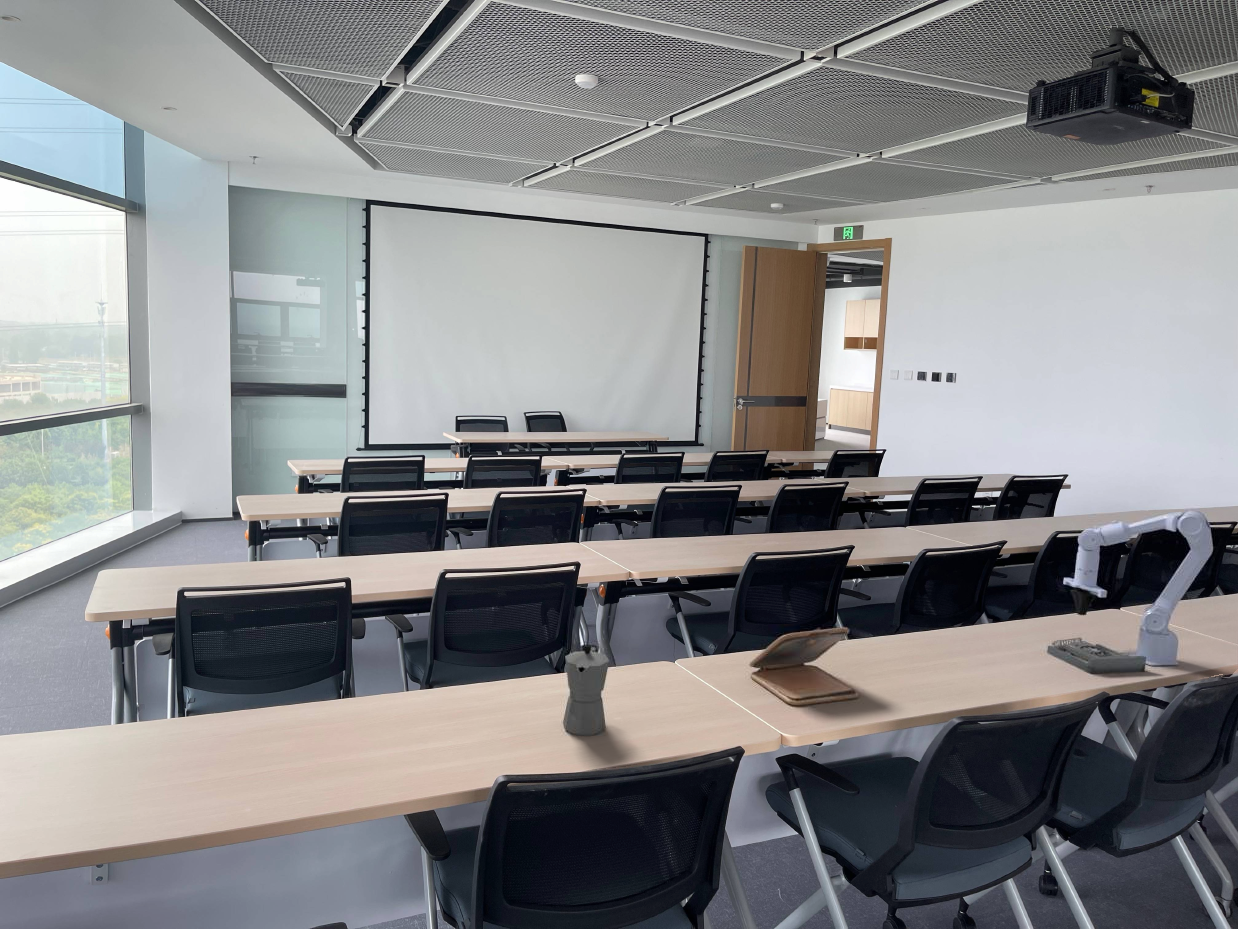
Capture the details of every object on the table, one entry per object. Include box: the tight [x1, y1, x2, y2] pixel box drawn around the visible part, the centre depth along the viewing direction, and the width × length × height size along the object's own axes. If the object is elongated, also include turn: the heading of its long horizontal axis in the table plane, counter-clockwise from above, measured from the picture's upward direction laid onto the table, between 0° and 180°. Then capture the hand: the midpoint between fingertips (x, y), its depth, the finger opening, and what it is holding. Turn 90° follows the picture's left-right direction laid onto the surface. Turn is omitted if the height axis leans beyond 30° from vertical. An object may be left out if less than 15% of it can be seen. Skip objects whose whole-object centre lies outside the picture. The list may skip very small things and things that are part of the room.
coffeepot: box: [562, 644, 610, 737], centre depth 175 cm, size 15×9×18 cm, turn 171°
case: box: [748, 626, 859, 706], centre depth 202 cm, size 20×21×16 cm
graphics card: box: [1051, 636, 1123, 662], centre depth 234 cm, size 17×4×12 cm
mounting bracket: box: [1046, 643, 1147, 675], centre depth 231 cm, size 17×16×4 cm
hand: (1081, 614), depth 244 cm, fingers closed
